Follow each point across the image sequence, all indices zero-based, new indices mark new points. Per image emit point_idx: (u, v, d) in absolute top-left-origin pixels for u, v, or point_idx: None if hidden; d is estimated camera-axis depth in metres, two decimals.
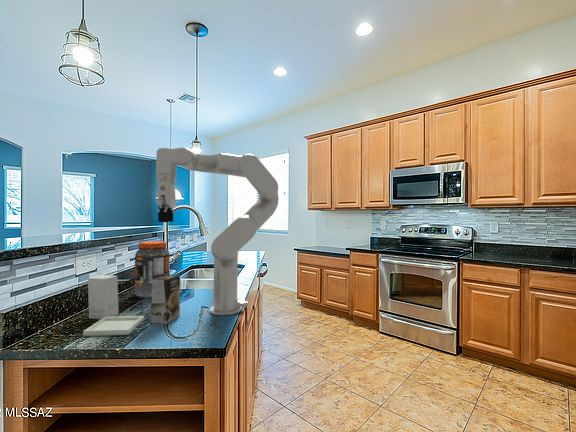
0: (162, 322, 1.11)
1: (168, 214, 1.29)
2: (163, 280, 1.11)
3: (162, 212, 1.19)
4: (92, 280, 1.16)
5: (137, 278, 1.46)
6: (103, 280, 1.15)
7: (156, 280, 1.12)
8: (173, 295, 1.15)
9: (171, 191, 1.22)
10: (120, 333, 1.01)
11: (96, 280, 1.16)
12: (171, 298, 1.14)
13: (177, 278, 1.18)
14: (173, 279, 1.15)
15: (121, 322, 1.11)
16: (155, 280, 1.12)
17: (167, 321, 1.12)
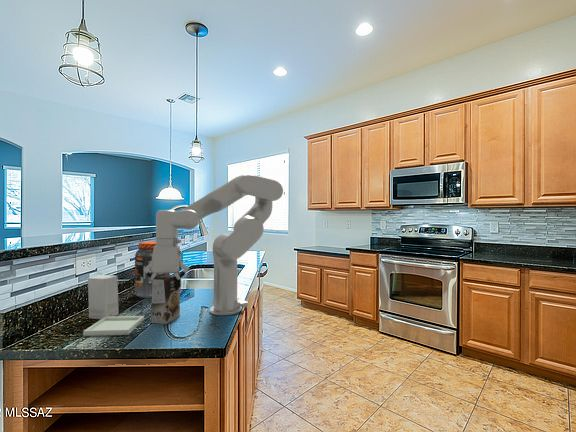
0: (162, 322, 1.11)
1: None
2: (163, 280, 1.11)
3: (180, 279, 1.17)
4: (93, 280, 1.16)
5: (137, 278, 1.46)
6: (103, 280, 1.15)
7: (156, 280, 1.12)
8: (173, 295, 1.15)
9: None
10: (120, 333, 1.01)
11: (96, 280, 1.16)
12: (171, 297, 1.14)
13: None
14: (173, 279, 1.15)
15: (121, 322, 1.11)
16: (155, 280, 1.12)
17: (167, 321, 1.12)
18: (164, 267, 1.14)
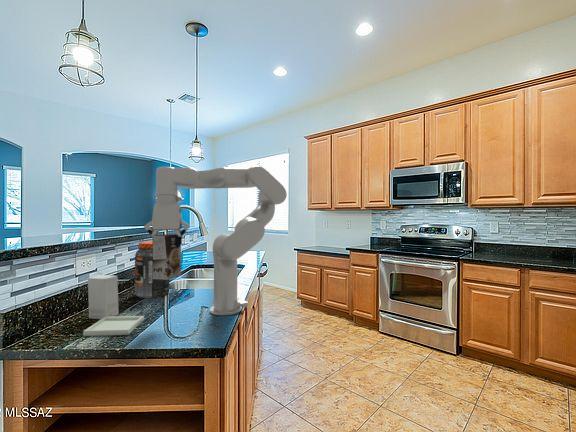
0: (163, 278, 1.11)
1: None
2: (164, 236, 1.11)
3: (181, 237, 1.17)
4: (93, 280, 1.16)
5: (137, 278, 1.46)
6: (103, 280, 1.15)
7: (157, 236, 1.12)
8: (174, 252, 1.15)
9: None
10: (120, 333, 1.01)
11: (96, 280, 1.16)
12: (172, 254, 1.14)
13: None
14: (174, 236, 1.15)
15: (121, 322, 1.11)
16: (156, 236, 1.12)
17: (168, 277, 1.12)
18: (165, 223, 1.14)
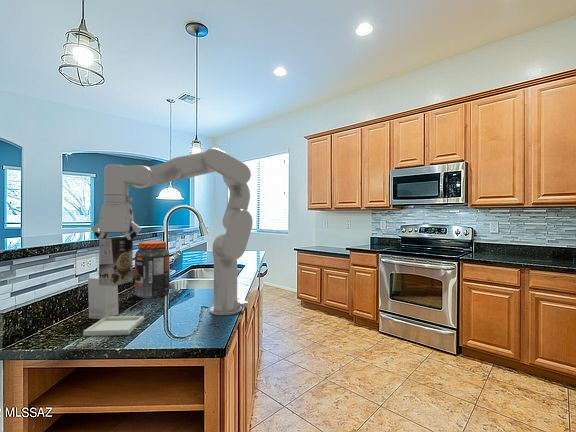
0: (110, 284, 1.03)
1: None
2: (111, 239, 1.03)
3: (131, 240, 1.08)
4: (93, 280, 1.16)
5: (137, 278, 1.46)
6: None
7: (103, 239, 1.04)
8: (123, 256, 1.07)
9: None
10: (120, 333, 1.01)
11: (96, 280, 1.16)
12: (121, 259, 1.06)
13: None
14: (123, 239, 1.07)
15: (121, 322, 1.11)
16: (102, 239, 1.04)
17: (115, 283, 1.03)
18: (113, 225, 1.05)
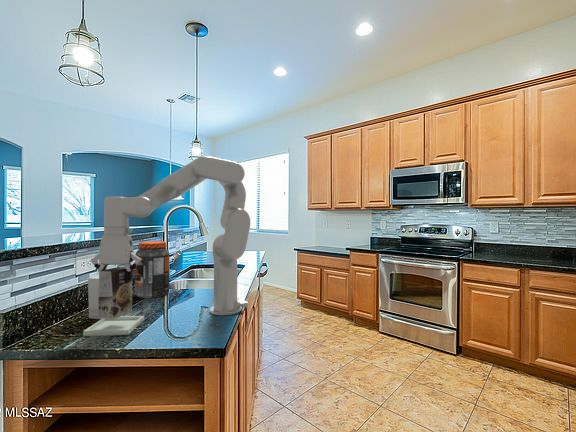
0: (109, 317, 1.03)
1: None
2: (110, 272, 1.03)
3: (131, 271, 1.08)
4: (93, 280, 1.16)
5: (137, 278, 1.46)
6: None
7: (103, 272, 1.04)
8: (123, 288, 1.06)
9: None
10: (120, 333, 1.01)
11: (96, 280, 1.16)
12: (120, 291, 1.06)
13: None
14: (123, 271, 1.07)
15: (121, 322, 1.11)
16: (102, 272, 1.04)
17: (115, 316, 1.03)
18: (113, 258, 1.05)
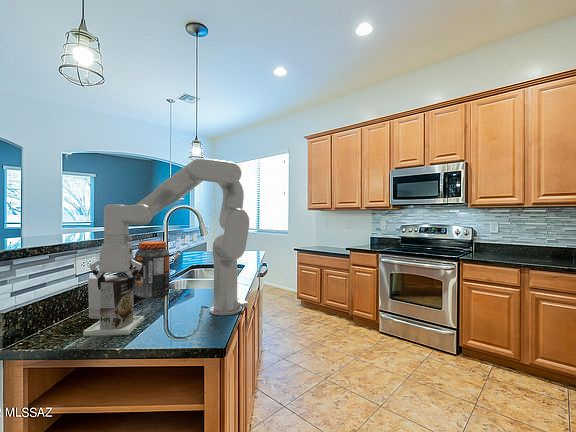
0: (111, 328, 1.03)
1: (102, 280, 1.07)
2: (112, 283, 1.03)
3: (133, 277, 1.08)
4: (93, 280, 1.16)
5: (137, 278, 1.46)
6: None
7: (105, 283, 1.04)
8: (124, 299, 1.07)
9: None
10: (120, 333, 1.01)
11: (96, 280, 1.16)
12: (122, 302, 1.06)
13: None
14: (124, 282, 1.07)
15: None
16: (104, 283, 1.04)
17: (117, 327, 1.04)
18: (113, 265, 1.05)
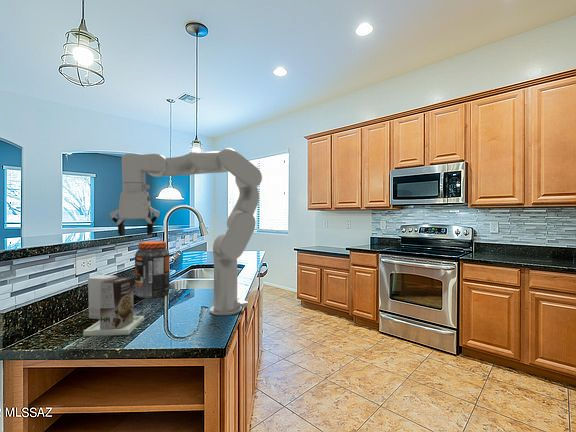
0: (111, 328, 1.03)
1: (122, 227, 1.12)
2: (112, 283, 1.03)
3: (152, 224, 1.14)
4: (92, 280, 1.16)
5: (137, 278, 1.46)
6: (103, 280, 1.15)
7: (105, 283, 1.04)
8: (124, 299, 1.07)
9: None
10: (120, 333, 1.01)
11: (96, 280, 1.16)
12: (122, 302, 1.06)
13: (130, 281, 1.10)
14: (124, 282, 1.07)
15: None
16: (104, 283, 1.04)
17: (117, 327, 1.04)
18: (132, 212, 1.10)
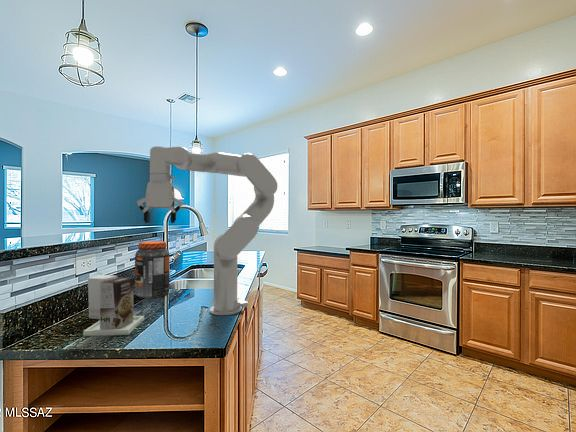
0: (111, 328, 1.03)
1: (148, 215, 1.20)
2: (112, 283, 1.03)
3: (175, 213, 1.21)
4: (92, 280, 1.16)
5: (137, 278, 1.46)
6: (103, 280, 1.15)
7: (105, 283, 1.04)
8: (124, 299, 1.07)
9: None
10: (120, 333, 1.01)
11: (96, 280, 1.16)
12: (122, 302, 1.06)
13: (130, 281, 1.10)
14: (124, 282, 1.07)
15: None
16: (104, 283, 1.04)
17: (117, 327, 1.04)
18: (158, 201, 1.18)
